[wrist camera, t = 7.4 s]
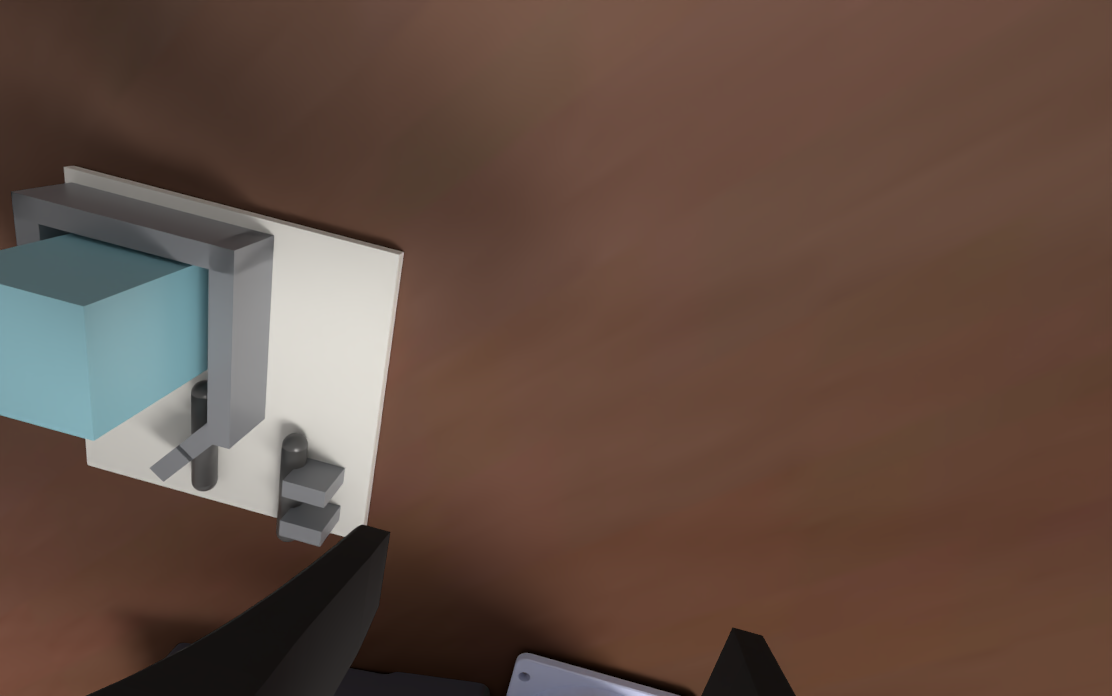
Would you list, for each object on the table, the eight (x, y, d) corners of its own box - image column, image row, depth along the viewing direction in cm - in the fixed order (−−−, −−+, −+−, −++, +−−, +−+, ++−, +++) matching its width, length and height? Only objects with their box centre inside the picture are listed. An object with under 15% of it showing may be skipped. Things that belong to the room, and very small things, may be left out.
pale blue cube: (227, 371, 23) (95, 459, 18) (123, 343, 23) (-40, 421, 18) (229, 251, 21) (83, 306, 16) (117, 222, 21) (-66, 266, 16)
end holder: (270, 414, 24) (229, 449, 22) (94, 365, 24) (34, 395, 22) (280, 233, 21) (234, 250, 19) (81, 180, 22) (10, 191, 19)
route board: (364, 543, 26) (342, 578, 24) (95, 468, 26) (54, 496, 24) (404, 252, 21) (380, 267, 19) (73, 165, 21) (19, 172, 20)
